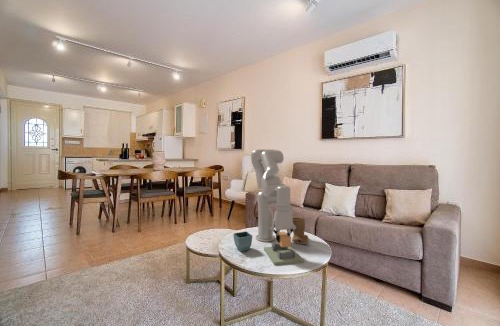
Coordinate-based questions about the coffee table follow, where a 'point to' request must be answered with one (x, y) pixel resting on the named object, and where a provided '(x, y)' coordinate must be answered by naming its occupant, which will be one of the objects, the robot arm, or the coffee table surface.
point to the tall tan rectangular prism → (284, 240)
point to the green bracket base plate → (282, 255)
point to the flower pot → (242, 240)
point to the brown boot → (299, 231)
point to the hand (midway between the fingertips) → (283, 241)
